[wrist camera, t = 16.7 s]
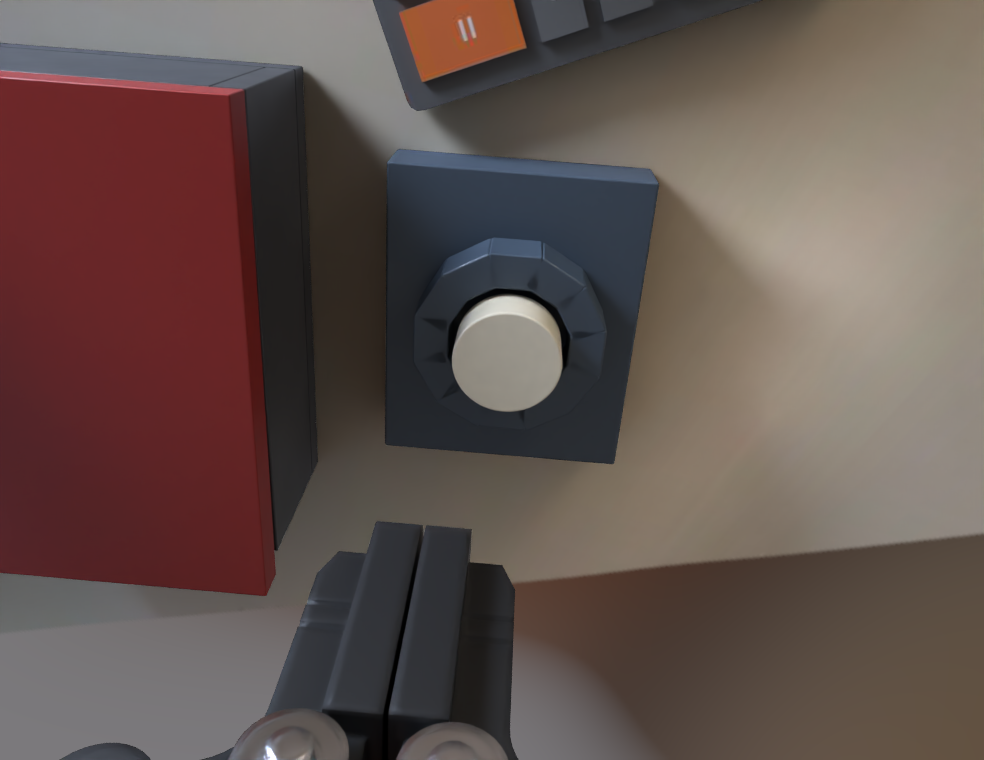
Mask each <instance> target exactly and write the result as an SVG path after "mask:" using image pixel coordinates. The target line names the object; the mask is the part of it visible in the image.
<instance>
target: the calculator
mask: <svg viewBox="0 0 984 760" xmlns="http://www.w3.org/2000/svg"><path fill="white" fill-rule="evenodd" d="M759 1H762V0H373V2H374V5H375V8H376V11H377V14H378V17H379V20H380V23H381V26H382V29H383V32H384V35H385V37H386V40H387V43H388V46H389V49H390V52H391V55H392V58H393V61H394V64H395V67H396V70H397V73H398V75H399V78H400V81H401V84H402V87H403V90H404V93H405V96H406V99H407V101H408V103H409V105H410V107H411V108H413V109H415V110H416V111H421V110H427V109H430V108H433V107H436V106H439V105H442V104H445V103H448V102H451V101H454V100H457V99H460V98H463V97H466V96H470V95H473V94H476V93H479V92H482V91H485V90H488V89H491V88H494V87H497V86H500V85H503V84H506V83H510V82H513V81H516V80H519V79H522V78H525V77H528V76H531V75H534V74H537V73H540V72H543V71H546V70H550V69H553V68H556V67H559V66H562V65H565V64H568V63H571V62H574V61H577V60H580V59H583V58H586V57H590V56H593V55H596V54H599V53H602V52H605V51H608V50H611V49H614V48H617V47H620V46H623V45H626V44H630V43H633V42H636V41H639V40H642V39H645V38H648V37H651V36H654V35H657V34H660V33H663V32H666V31H670V30H673V29H676V28H679V27H682V26H685V25H688V24H691V23H694V22H697V21H700V20H703V19H706V18H709V17H713V16H716V15H719V14H722V13H725V12H728V11H731V10H734V9H737V8H740V7H743V6H746V5H749V4H753V3H756V2H759Z"/></svg>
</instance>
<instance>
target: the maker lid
mask: <svg viewBox="0 0 984 760" xmlns="http://www.w3.org/2000/svg"><path fill="white" fill-rule="evenodd" d="M0 573H9V574H20V575H32V576H43V577H54V578H66V579H77V580H88V581H100V582H111V583H122V584H134V585H145V586H156V587H168V588H179V589H190V590H202V591H213V592H224V593H236V594H247V595H258V596H266V595H267V593H268V591H269V589H270V586H271V584H272V582H273V580H274V577H275V575H276V569H275V553H274V538H273V523H272V508H271V492H270V477H269V462H268V446H267V431H266V416H265V400H264V385H263V370H262V355H261V339H260V324H259V309H258V293H257V278H256V263H255V248H254V232H253V217H252V202H251V186H250V171H249V156H248V141H247V125H246V110H245V95H244V90H242V89H231V88H218V87H205V86H192V85H179V84H167V83H154V82H141V81H128V80H115V79H102V78H89V77H76V76H64V75H51V74H38V73H25V72H12V71H0Z"/></svg>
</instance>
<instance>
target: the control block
mask: <svg viewBox="0 0 984 760" xmlns="http://www.w3.org/2000/svg"><path fill="white" fill-rule="evenodd" d="M658 189H659V183H658V181H657V179H656V178H655V176H654V174H653V172H652V171H651V169H645V168H632V167H619V166H607V165H594V164H581V163H569V162H556V161H543V160H530V159H518V158H505V157H492V156H480V155H467V154H454V153H441V152H429V151H416V150H403V149H398V150H397V151H396V152H395V153H394V155H393V156H392V157H391V158H390V160H389V161H388V162H387V237H386V385H385V444H386V445H392V446H404V447H416V448H427V449H439V450H451V451H463V452H475V453H486V454H498V455H510V456H522V457H534V458H545V459H557V460H569V461H581V462H593V463H604V464H614V461H615V455H616V449H617V443H618V437H619V430H620V424H621V418H622V412H623V406H624V399H625V393H626V387H627V381H628V375H629V369H630V362H631V356H632V350H633V344H634V338H635V331H636V325H637V319H638V313H639V307H640V300H641V294H642V288H643V282H644V276H645V269H646V263H647V257H648V251H649V245H650V238H651V232H652V226H653V220H654V214H655V208H656V201H657V195H658ZM499 294H516V295H522V296H525V297H528V298H531V299H533V300H535V301H536V302H538V303H540V304H541V305H542V306H544V307H545V308H546V309H547V310H548V311H549V312H550V313H551V315H552V316H553V317H554V319H555V321H556V322H557V325H558V327H559V330H560V334H561V345H562V371H561V376H560V378H559V381H558V383H557V385H556V387H555V388H554V390H553V391H552V392H551V393H550V394H549V395H548V397H546V398H545V399H544V400H543V401H541V402H540V403H538V404H537V405H535V406H533V407H530V408H528V409H525V410H520V411H514V412H502V411H495V410H491V409H488V408H486V407H483V406H481V405H479V404H477V403H476V402H474V401H473V400H472V399H470V398H469V397H468V396H467V395H466V394H465V393H464V392H463V390H462V389H461V388H460V386H459V385H458V383H457V381H456V379H455V376H454V373H453V368H452V353H453V348H454V344H455V340H456V335H457V331H458V328H459V325H460V323H461V320H462V319H463V317H464V315H465V314H466V313H467V312H468V311H469V310H470V309H471V308H472V307H473V306H474V305H475V304H477V303H478V302H480V301H482V300H483V299H485V298H488V297H491V296H495V295H499Z"/></svg>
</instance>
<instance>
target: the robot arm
mask: <svg viewBox="0 0 984 760" xmlns="http://www.w3.org/2000/svg"><path fill="white" fill-rule="evenodd" d="M423 534H424V537H423ZM471 537H472V529H464V528H452V527H441V526H429V525H426V528H425V532H424V533H423V525H416V524H404V523H392V522H381V521H377V522H376V524H375V527H374V530H373V533H372V537H371V540H370V544H369V547H368V550H367V554H365V553H353V552H342V551H339V552H338V553H337V554H336V555H335V556H334V557H333V558H332V559H331V560H330V561H329V562H328V563H327V564H326V565H325V566H324V567H323V568H322V569H321V570H320V571H319V572H318V573H317V575H316V578H315V581H314V584H313V587H312V589H311V592H310V595H309V598H308V603H307V605H306V606H305V609H304V612H303V614H302V617H301V620H300V626H299V627H298V628H297V631H296V634H295V637H294V639H293V642H292V645H291V648H290V650H289V653H288V656H287V659H286V661H285V664H284V667H283V670H282V673H281V675H280V678H279V681H278V684H277V687H276V689H275V692H274V695H273V698H272V700H271V703H270V706H269V708H268V710H267V713H266V715H265V717H263V718H261V719H260V720H258V721H257V722H255V723H254V724H252V725H251V726H250V727H249V728H248V729H247V730H246V731H245V732H244V733H243V734H242V736H241V737H240V738H239V739H238V741H237V743H236V744H235V746H234V747H233V748H231V749H229V750H227V751H225V752H223V753H221V754H218V755H215V756H213V757H210V758H206V759H202V760H518V758H517V756H516V754H515V752H514V749H513V747H512V743H511V738H510V711H511V710H510V709H511V683H512V657H513V629H514V622H513V621H514V602H515V601H514V600H515V589H514V587H513V585H512V583H511V581H510V579H509V577H508V575H507V573H506V572H505V570H504V568H503V566H502V565H493V564H482V563H470V552H471ZM60 760H150V758H149V757H148V756H147V755H146V754H145V753H144V752H143V751H141V750H139V749H137V748H136V747H133V746H130V745H127V744H121V743H103V744H97V745H93V746H89V747H85V748H83V749H80V750H78V751H75V752H73V753H71V754H70V755H68V756H66V757H64V758H62V759H60Z"/></svg>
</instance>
